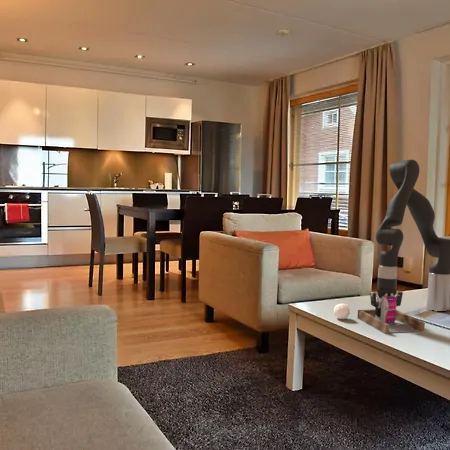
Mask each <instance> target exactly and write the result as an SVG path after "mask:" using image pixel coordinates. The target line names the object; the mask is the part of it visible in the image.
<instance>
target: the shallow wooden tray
mask: <svg viewBox="0 0 450 450" xmlns="http://www.w3.org/2000/svg"><path fill="white" fill-rule="evenodd" d="M375 316H376V315H375V308H373V309H372V308H371V309H357V320H358V319H359V320H360V321H362V322H363V323H365V324H367V325H369V326H371V327H372V328H374V329H376V330H378V331H380V332H381V333H382V334H385V335H389V334H390V333H389V325H390V324H387V323H385V322H383V321H381V320H379V319H377V318H375ZM395 321H398V322H400V323H401V324H406V325H408V326H410V327H412V328H414V329H416V330H418V332H420V333H424V332H425V327H426V326H425V322H423V321H422V320H419V319H417V318H414V317H413V316H412V315H411V316H410V315H408V314H406V313H404V312H402V311H400V310H398V309H396V314H395Z"/></svg>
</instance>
